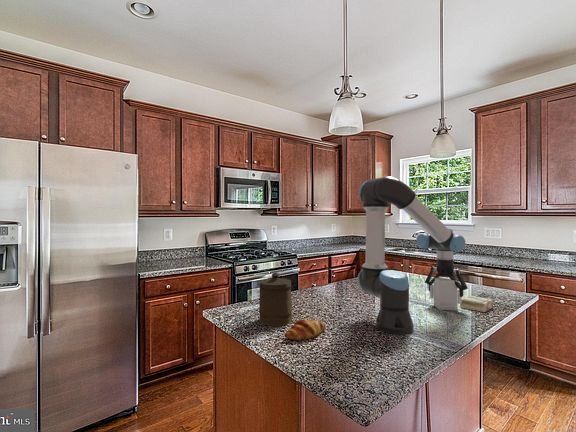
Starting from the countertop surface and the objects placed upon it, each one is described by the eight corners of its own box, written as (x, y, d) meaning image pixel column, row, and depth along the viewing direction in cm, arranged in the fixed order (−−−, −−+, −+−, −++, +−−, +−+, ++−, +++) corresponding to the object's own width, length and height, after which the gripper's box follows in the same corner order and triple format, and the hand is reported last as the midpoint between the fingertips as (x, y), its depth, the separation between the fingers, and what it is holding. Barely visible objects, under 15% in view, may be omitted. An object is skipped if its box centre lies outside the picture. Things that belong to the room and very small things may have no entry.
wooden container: (285, 313, 153) (284, 269, 153) (296, 323, 139) (296, 274, 139) (255, 317, 148) (255, 271, 148) (265, 328, 134) (264, 277, 134)
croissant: (321, 335, 135) (315, 316, 138) (336, 330, 128) (329, 310, 131) (281, 347, 122) (275, 326, 125) (295, 342, 115) (289, 320, 118)
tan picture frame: (484, 312, 152) (484, 303, 151) (460, 307, 160) (460, 298, 160) (492, 307, 159) (492, 299, 158) (468, 302, 167) (468, 294, 167)
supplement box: (458, 310, 154) (458, 280, 154) (438, 310, 155) (438, 280, 155) (451, 305, 163) (451, 276, 163) (433, 304, 164) (433, 276, 164)
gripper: (474, 260, 152) (475, 304, 152) (424, 255, 171) (425, 294, 171) (468, 262, 147) (469, 307, 147) (417, 257, 166) (418, 296, 166)
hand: (445, 300), depth 159 cm, fingers open, 13 cm apart
